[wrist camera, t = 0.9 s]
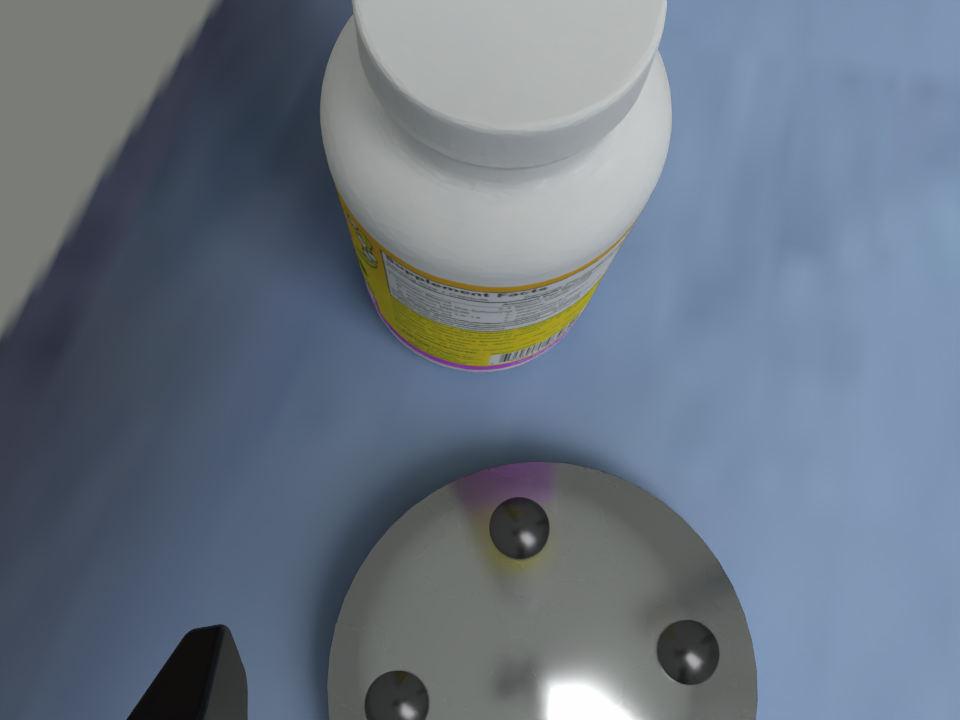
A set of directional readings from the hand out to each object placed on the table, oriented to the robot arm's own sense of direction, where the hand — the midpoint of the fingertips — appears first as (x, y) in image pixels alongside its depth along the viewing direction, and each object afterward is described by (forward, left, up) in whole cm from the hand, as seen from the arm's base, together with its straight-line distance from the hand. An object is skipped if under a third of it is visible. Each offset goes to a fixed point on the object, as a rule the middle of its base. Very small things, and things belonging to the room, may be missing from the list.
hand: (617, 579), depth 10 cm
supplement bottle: (+5, -7, -14) cm, 16 cm away
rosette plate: (-2, +2, -13) cm, 14 cm away
